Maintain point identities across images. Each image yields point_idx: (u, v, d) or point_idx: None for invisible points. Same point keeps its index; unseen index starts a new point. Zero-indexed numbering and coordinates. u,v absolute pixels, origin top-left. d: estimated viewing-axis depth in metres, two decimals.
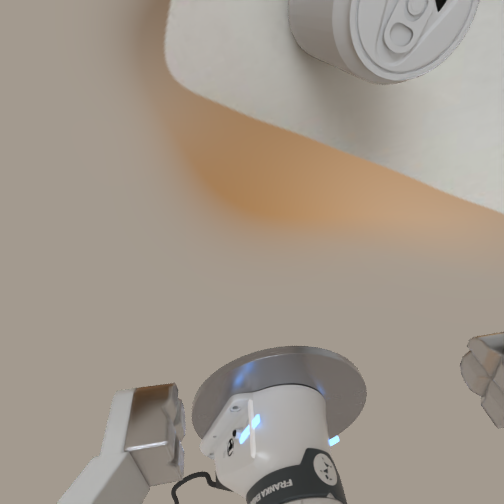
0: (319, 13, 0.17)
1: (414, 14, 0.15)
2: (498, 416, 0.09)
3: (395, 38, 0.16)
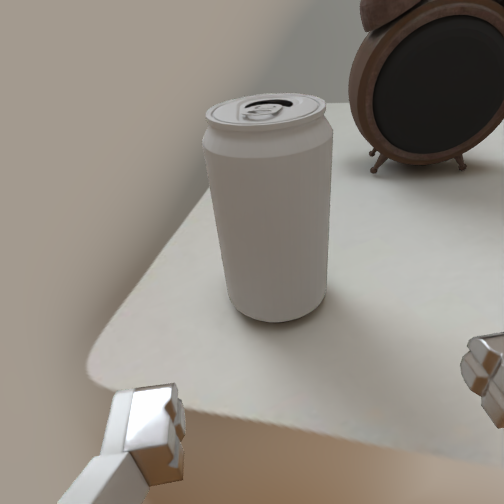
0: (209, 183, 0.18)
1: (266, 109, 0.17)
2: (498, 416, 0.09)
3: (257, 117, 0.16)
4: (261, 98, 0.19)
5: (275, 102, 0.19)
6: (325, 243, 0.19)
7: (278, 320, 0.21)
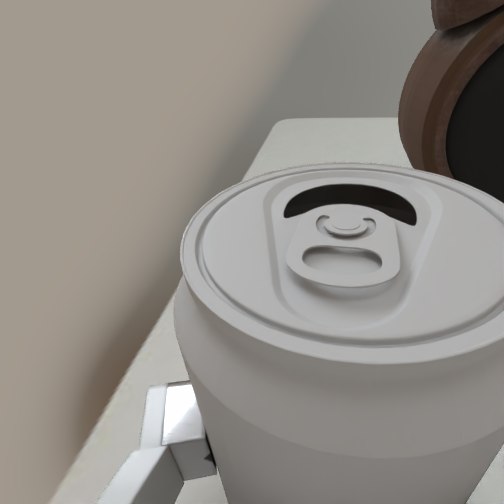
0: None
1: (353, 234, 0.06)
2: None
3: (335, 276, 0.05)
4: (318, 177, 0.08)
5: None
6: None
7: None
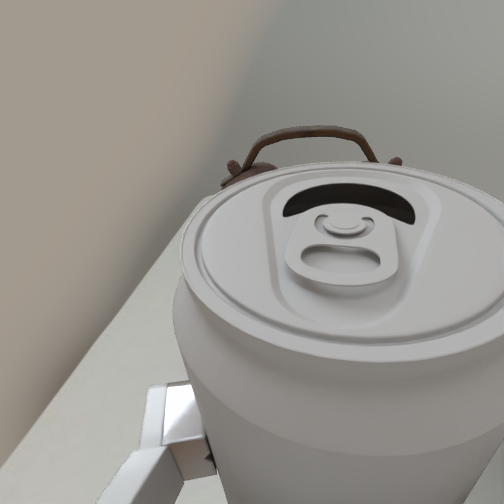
0: None
1: (351, 233, 0.06)
2: None
3: (333, 275, 0.05)
4: (317, 176, 0.08)
5: None
6: None
7: None
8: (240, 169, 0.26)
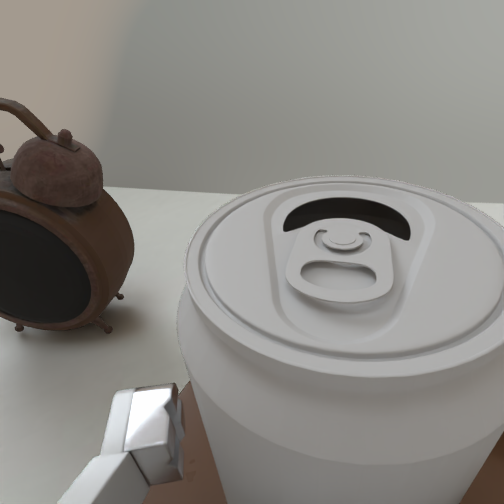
0: None
1: (349, 249, 0.06)
2: None
3: (331, 291, 0.05)
4: (316, 190, 0.08)
5: None
6: None
7: None
8: None
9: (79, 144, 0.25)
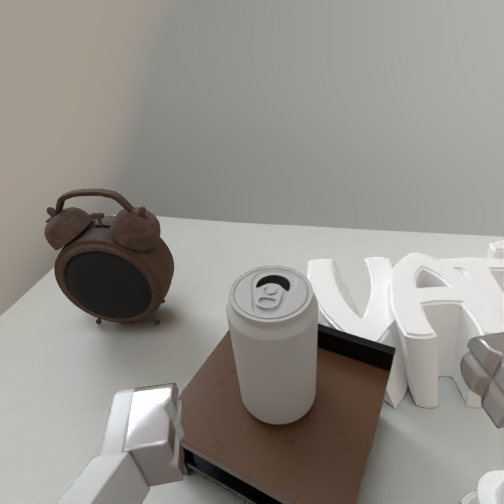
0: (230, 334, 0.26)
1: (272, 293, 0.24)
2: (498, 416, 0.09)
3: (265, 305, 0.23)
4: (267, 271, 0.26)
5: None
6: (314, 372, 0.27)
7: (279, 423, 0.28)
8: (55, 212, 0.43)
9: (148, 212, 0.43)
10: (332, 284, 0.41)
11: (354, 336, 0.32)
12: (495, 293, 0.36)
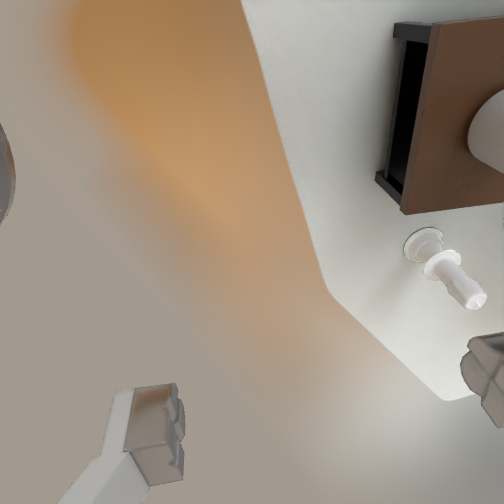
0: None
1: None
2: (498, 416, 0.09)
3: None
4: None
5: None
6: None
7: (469, 146, 0.31)
8: None
9: None
10: None
11: None
12: None
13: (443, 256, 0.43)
